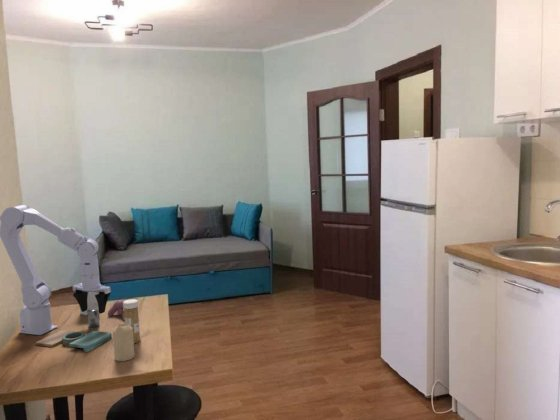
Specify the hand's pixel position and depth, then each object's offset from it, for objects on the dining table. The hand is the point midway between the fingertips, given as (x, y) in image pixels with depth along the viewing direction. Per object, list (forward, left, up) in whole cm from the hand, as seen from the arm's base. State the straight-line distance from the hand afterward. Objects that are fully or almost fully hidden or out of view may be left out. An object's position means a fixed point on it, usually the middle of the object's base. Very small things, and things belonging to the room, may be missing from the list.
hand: (93, 311), depth 162 cm
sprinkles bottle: (+22, -8, -6) cm, 24 cm away
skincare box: (-12, +12, -6) cm, 18 cm away
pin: (0, 0, -5) cm, 5 cm away
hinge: (+3, -13, -5) cm, 14 cm away
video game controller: (+3, +11, -6) cm, 13 cm away
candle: (+27, -19, -6) cm, 33 cm away
